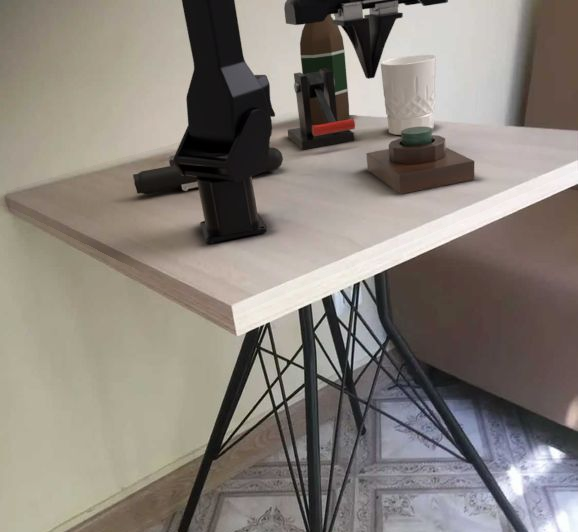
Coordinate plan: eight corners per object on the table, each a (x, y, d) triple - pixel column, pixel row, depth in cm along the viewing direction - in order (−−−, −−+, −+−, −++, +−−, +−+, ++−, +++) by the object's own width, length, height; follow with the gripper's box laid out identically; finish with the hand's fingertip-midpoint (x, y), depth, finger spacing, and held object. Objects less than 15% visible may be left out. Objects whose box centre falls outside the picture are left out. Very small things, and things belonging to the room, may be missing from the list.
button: (437, 145, 81) (436, 130, 81) (408, 150, 81) (407, 135, 80) (425, 139, 85) (424, 124, 84) (397, 144, 84) (396, 130, 83)
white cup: (425, 136, 101) (423, 63, 96) (376, 136, 105) (371, 65, 100) (445, 123, 106) (443, 53, 101) (397, 123, 110) (394, 56, 105)
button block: (474, 179, 80) (474, 144, 78) (400, 194, 79) (398, 159, 77) (433, 157, 90) (432, 126, 88) (367, 170, 89) (365, 138, 87)
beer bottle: (357, 113, 121) (345, -43, 110) (342, 124, 115) (327, -41, 104) (316, 115, 125) (300, -37, 113) (299, 125, 119) (280, -34, 107)
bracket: (354, 140, 104) (348, 71, 100) (302, 149, 103) (294, 80, 99) (335, 128, 113) (330, 64, 108) (288, 137, 112) (280, 73, 107)
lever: (354, 133, 100) (355, 120, 98) (314, 141, 99) (314, 127, 97) (330, 82, 106) (331, 69, 104) (292, 89, 106) (292, 75, 104)
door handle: (129, 157, 102) (132, 176, 88) (260, 133, 105) (285, 148, 91) (134, 180, 104) (138, 202, 89) (264, 156, 107) (288, 173, 92)
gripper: (410, -72, 87) (415, 61, 95) (267, -53, 85) (283, 82, 92) (449, -80, 78) (450, 68, 85) (288, -59, 75) (304, 93, 82)
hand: (370, 77), depth 87 cm, fingers closed
